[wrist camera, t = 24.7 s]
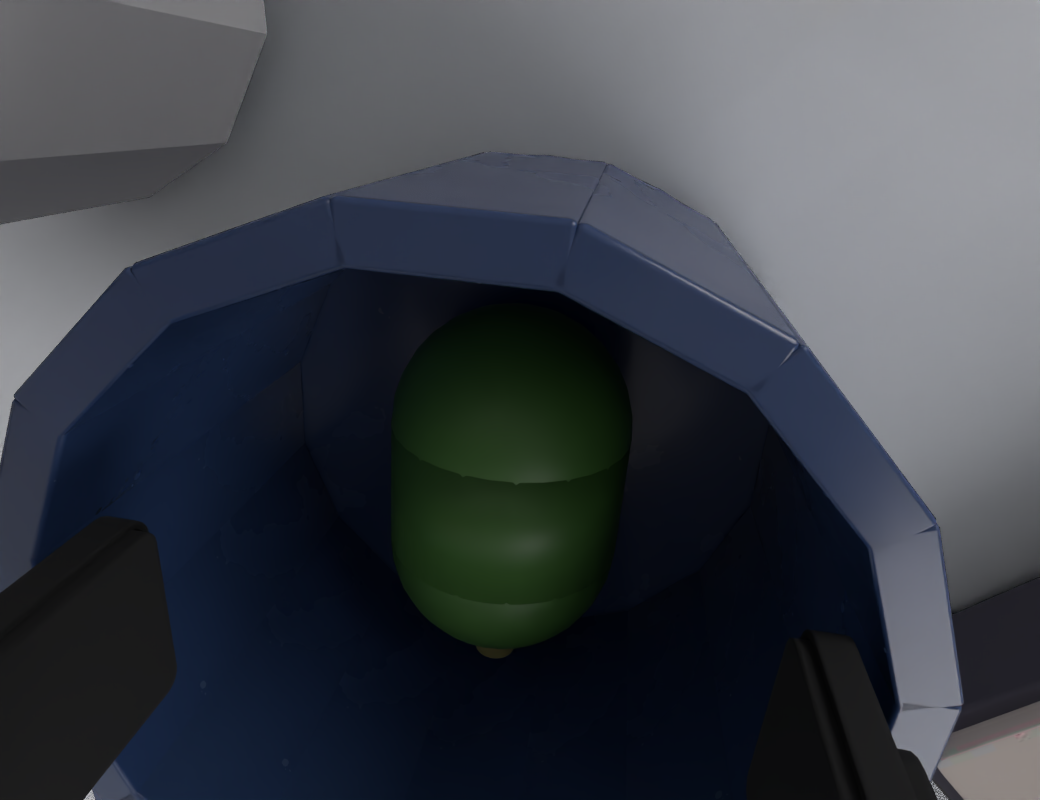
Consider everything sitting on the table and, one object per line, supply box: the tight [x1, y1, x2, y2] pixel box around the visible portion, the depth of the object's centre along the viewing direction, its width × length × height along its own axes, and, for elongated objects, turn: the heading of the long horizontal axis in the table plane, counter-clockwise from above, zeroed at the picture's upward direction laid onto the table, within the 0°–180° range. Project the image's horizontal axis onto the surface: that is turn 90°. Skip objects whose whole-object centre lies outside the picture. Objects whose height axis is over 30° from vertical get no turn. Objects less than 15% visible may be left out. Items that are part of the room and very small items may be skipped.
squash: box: [391, 303, 633, 658], centre depth 16 cm, size 9×5×5 cm, turn 176°
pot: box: [0, 152, 964, 800], centre depth 14 cm, size 14×14×10 cm
